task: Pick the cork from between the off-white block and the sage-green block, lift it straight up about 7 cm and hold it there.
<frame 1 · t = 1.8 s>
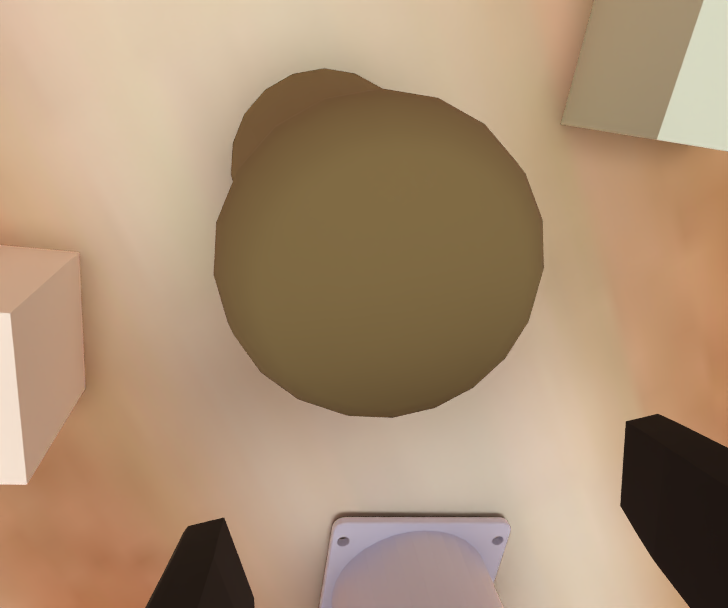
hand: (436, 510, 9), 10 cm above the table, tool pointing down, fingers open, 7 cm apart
sage-green block: (650, 55, 17), on the table
off-white block: (0, 316, 17), on the table
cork: (326, 170, 17), on the table
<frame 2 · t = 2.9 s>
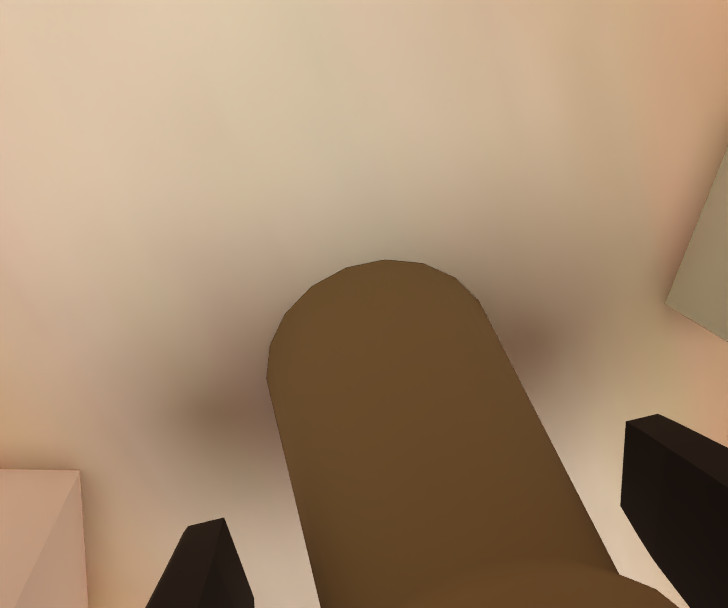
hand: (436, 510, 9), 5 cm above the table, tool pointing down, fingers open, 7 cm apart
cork: (382, 365, 14), on the table
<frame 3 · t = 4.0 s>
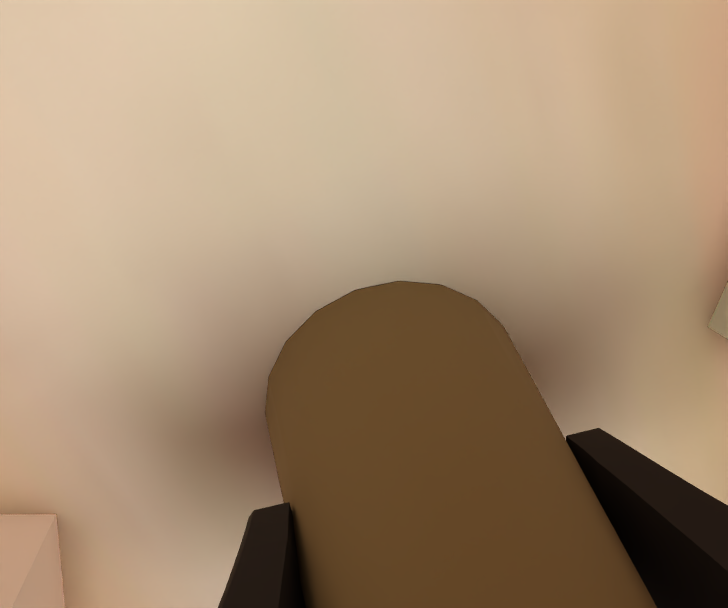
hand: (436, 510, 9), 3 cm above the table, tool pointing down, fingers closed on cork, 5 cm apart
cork: (394, 396, 13), on the table, touching gripper
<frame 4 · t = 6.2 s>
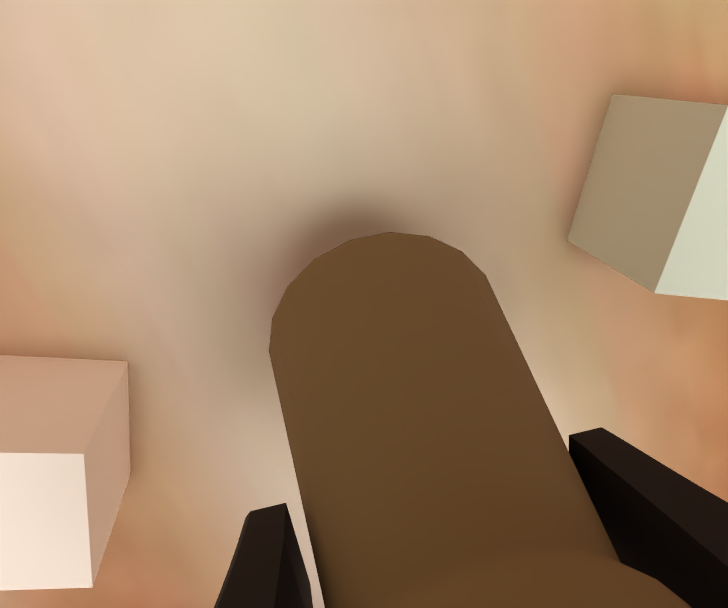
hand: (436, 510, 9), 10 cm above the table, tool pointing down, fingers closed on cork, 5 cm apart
sage-green block: (649, 179, 19), on the table
off-white block: (55, 417, 19), on the table
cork: (385, 338, 14), point 5 cm above the table, touching gripper
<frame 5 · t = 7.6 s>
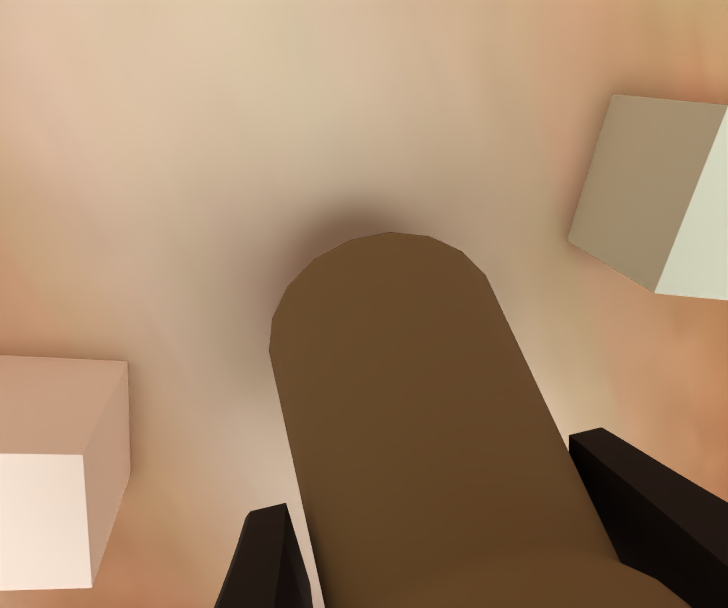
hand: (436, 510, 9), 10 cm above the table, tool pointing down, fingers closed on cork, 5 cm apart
sage-green block: (649, 179, 19), on the table
off-white block: (55, 417, 19), on the table
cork: (385, 338, 14), point 5 cm above the table, touching gripper
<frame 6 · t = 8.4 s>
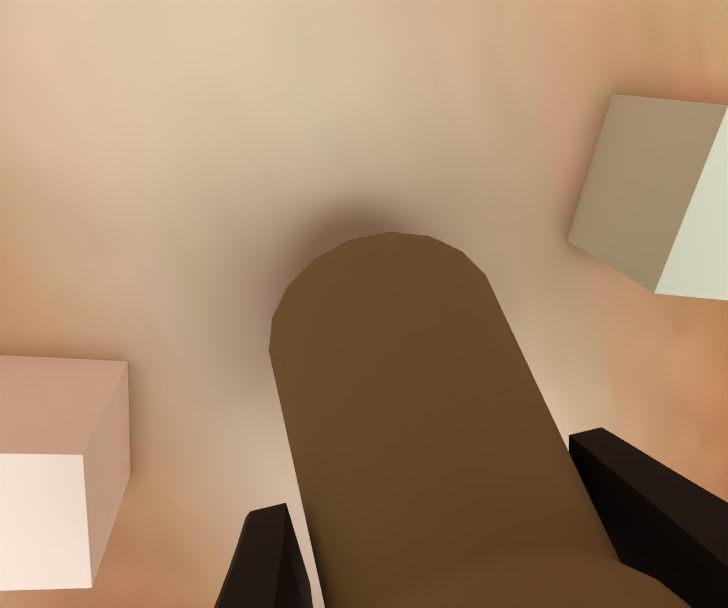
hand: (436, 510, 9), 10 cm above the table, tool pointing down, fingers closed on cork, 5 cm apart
sage-green block: (649, 179, 19), on the table
off-white block: (55, 417, 19), on the table
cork: (385, 338, 14), point 5 cm above the table, touching gripper
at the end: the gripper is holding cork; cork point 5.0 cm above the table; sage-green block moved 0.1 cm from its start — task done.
